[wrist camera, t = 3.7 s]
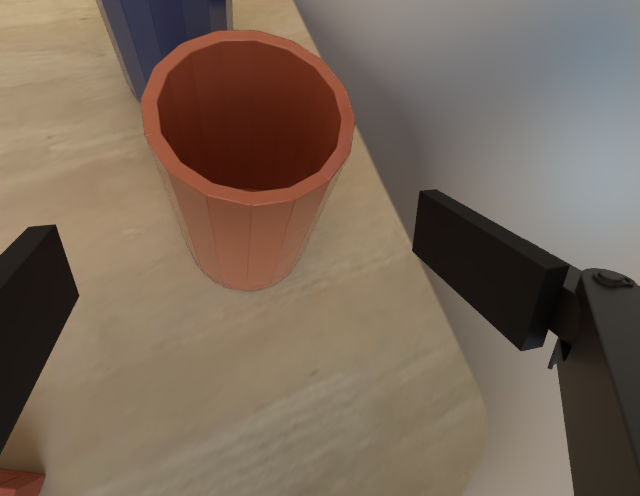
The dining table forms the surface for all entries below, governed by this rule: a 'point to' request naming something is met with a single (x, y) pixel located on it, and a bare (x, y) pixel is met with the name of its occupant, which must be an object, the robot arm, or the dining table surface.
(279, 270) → the terracotta tumbler
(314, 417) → the dining table surface
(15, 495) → the red tray
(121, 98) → the dining table surface
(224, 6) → the blue tumbler
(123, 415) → the dining table surface
